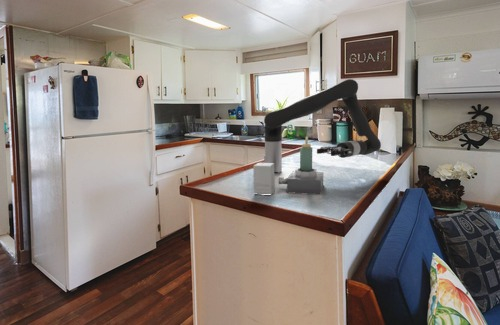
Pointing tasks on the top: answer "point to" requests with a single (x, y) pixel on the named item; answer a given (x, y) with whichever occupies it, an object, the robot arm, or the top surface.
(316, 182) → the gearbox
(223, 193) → the top surface
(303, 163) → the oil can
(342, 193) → the top surface
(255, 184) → the supplement box
